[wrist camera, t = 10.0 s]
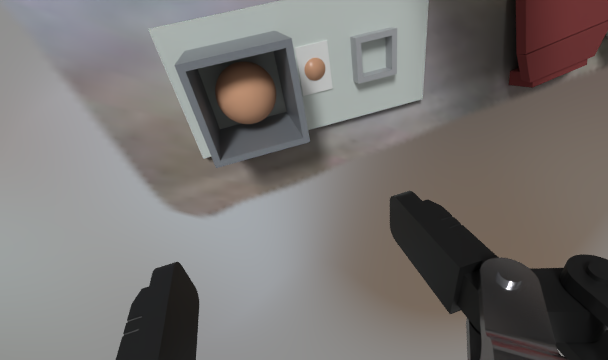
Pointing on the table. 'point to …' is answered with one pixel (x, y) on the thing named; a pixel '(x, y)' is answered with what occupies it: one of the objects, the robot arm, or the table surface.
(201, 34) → the ball rack
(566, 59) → the carton
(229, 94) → the ball
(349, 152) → the table surface
